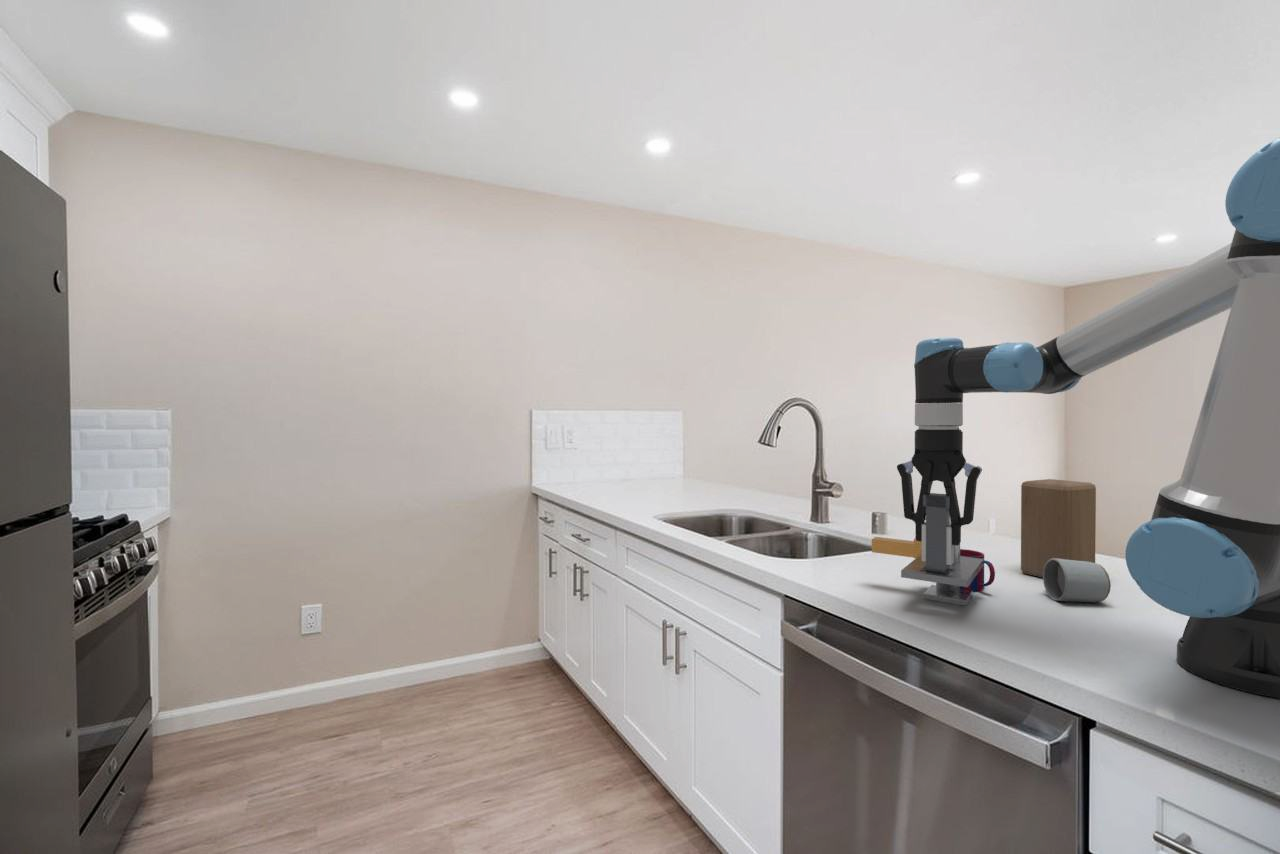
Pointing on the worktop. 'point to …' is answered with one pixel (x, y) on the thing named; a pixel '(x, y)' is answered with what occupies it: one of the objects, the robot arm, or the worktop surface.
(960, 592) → the grey plate with post
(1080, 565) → the grey cylinder
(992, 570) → the cup
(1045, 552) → the block
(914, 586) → the worktop surface
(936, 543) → the wedge pin
